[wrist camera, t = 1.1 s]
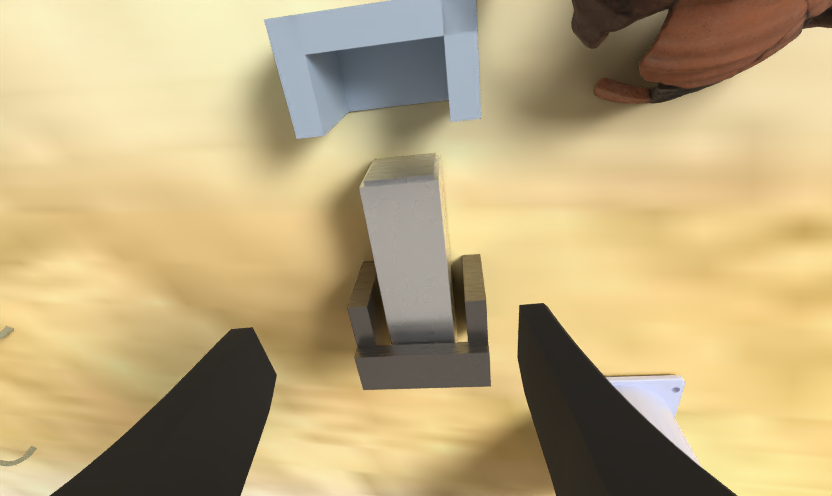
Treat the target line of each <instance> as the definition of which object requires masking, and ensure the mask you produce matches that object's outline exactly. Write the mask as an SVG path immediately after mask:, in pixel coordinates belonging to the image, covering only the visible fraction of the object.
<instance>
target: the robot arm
mask: <svg viewBox="0 0 832 496" xmlns="http://www.w3.org/2000/svg"><path fill="white" fill-rule="evenodd" d="M518 362H519V368H520V373H521V378H522V383H523V387H524V392H525V396H526V399H527V403H528V406H529V409H530V412H531V416H532V419H533V422H534V425H535V428H536V431H537V435H538V438H539V441H540V444H541V447H542V450H543V454H544V457H545V460H546V463H547V466H548V469H549V472H550V476H551V479H552V482H553V486H554V489H555V493H556V496H737V495H736V494H735V493H733V492H732V491H731V490H730V489H728V488H727V487H726V486H724V485H723V484H722V483H721V482H719V481H718V480H717V479H716V478H714V477H713V476H712V475H711V474H709V473H708V472H707V471H706V470H704V469H703V468H702V466H701V465H700V463H699V461H698V459H697V457H696V456H695V454H694V452H693V450H692V448H691V447H690V445H689V443H688V441H687V440H686V438H685V436H684V434H683V432H682V431H681V429H680V427H679V425H678V423H677V422H676V420H675V415H676V412H677V409H678V405H679V402H680V399H681V396H682V392H683V389H684V386H685V381H684V379H683V378H682V377H681V376H679V375H660V376H626V377H605V376H604V375H603V374H602V373H601V372H600V371H599V370H598V368H597V367H596V366H595V365H594V364H593V363H592V362H591V361H590V359H589V358H588V357H587V356H586V355H585V354H584V353H583V351H582V350H581V349H580V348H579V347H578V345H577V344H576V343H575V342H574V341H573V339H572V338H571V337H570V336H569V334H568V333H567V332H566V331H565V329H564V328H563V327H562V326H561V324H560V323H559V322H558V320H557V319H556V318H555V316H554V315H553V314H552V312H551V311H550V309H549V308H548V307H547V306H546V305H545V304H544V303H539V304H527V305H519V330H518ZM276 376H277V375H276V373H275V371H274V369H273V367H272V365H271V363H270V361H269V359H268V357H267V355H266V353H265V351H264V349H263V347H262V345H261V343H260V341H259V339H258V337H257V335H256V333H255V331H254V329H253V327H251V328H239V329H231V330H230V331H229V332H228V333H227V334H226V335H225V336H224V337H223V338H222V339H221V340H220V341H219V342H218V343H217V344H216V345H215V346H214V347H213V348H212V349H211V350H210V351H209V352H208V353H207V354H206V355H205V356H204V357H203V358H202V359H201V360H200V361H199V362H198V363H197V364H196V365H195V366H194V367H193V368H192V369H191V370H190V371H189V372H188V373H187V374H186V375H185V376H184V377H183V378H182V379H181V380H180V381H179V383H178V384H177V385H176V386H175V387H174V388H173V389H172V390H171V391H170V392H169V393H168V394H167V395H166V396H165V397H164V398H163V399H161V400H160V401H159V402H158V403H157V404H156V405H155V406H154V407H153V408H152V409H151V410H150V411H149V412H148V413H147V414H146V415H145V416H143V417H142V418H141V419H140V420H139V421H138V422H137V423H136V424H135V425H134V426H133V427H132V428H131V429H130V430H129V431H128V432H126V433H125V434H124V435H123V436H122V437H121V438H120V439H119V440H118V441H116V442H115V443H114V444H113V445H112V446H111V447H110V448H108V449H107V450H106V451H105V452H104V453H103V454H101V455H100V456H99V457H98V458H97V459H95V460H94V461H93V462H92V463H91V464H89V465H88V466H87V467H86V468H85V469H83V470H82V471H81V472H80V473H78V474H77V475H76V476H75V477H74V478H72V479H71V480H70V481H68V482H67V483H66V484H65V485H63V486H62V487H61V488H59V489H58V490H57V491H55V492H54V493H53V494H51V495H50V496H240V495H241V493H242V490H243V487H244V484H245V481H246V478H247V475H248V472H249V470H250V467H251V464H252V461H253V458H254V455H255V452H256V449H257V446H258V444H259V441H260V438H261V435H262V432H263V429H264V426H265V423H266V420H267V417H268V414H269V410H270V406H271V401H272V397H273V392H274V387H275V381H276Z"/></svg>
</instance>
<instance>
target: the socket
mask: <svg viewBox="0 0 832 496" xmlns="http://www.w3.org/2000/svg"><path fill="white" fill-rule="evenodd" d="M264 21H265V25H266V29H267V32H268V36H269V40H270V43H271V47H272V51H273V54H274V58H275V62H276V65H277V69H278V73H279V76H280V80H281V84H282V87H283V91H284V95H285V98H286V102H287V106H288V109H289V113H290V116H291V120H292V124H293V127H294V131H295V135H296V138H297V139H300V138H309V137H318V136H325V135H326V134H327V133H328V132H329V131H330V130H331V129H332V128H333V127H334V126H335V125H336V124H337V123H338V122H339V121H340V120H341V119H342V118H343V117H344V116H345V115H346V114H347V113H348V112H351V111H360V110H368V109H377V108H386V107H394V106H403V105H411V104H420V103H428V102H437V101H445V100H449V108H450V120H451V122H455V121H464V120H473V119H481V105H480V81H479V57H478V33H477V9H476V0H391V1H384V2H377V3H371V4H364V5H357V6H351V7H344V8H337V9H331V10H324V11H317V12H311V13H304V14H297V15H291V16H284V17H278V18H271V19H264Z"/></svg>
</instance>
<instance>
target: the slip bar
mask: <svg viewBox="0 0 832 496" xmlns="http://www.w3.org/2000/svg"><path fill="white" fill-rule="evenodd" d="M359 190H360V195H361V200H362V205H363V209H364V214H365V219H366V224H367V229H368V233H369V238H370V243H371V248H372V253H373V257H374V262H375V267H376V272H377V277H378V282H379V286H380V291H381V296H382V301H383V306H384V310H385V315H386V320H387V325H388V330H389V334H390V339H391V344H392V345H406V344H430V343H454V342H458V337H457V327H456V316H455V306H454V295H453V285H452V275H451V264H450V254H449V243H448V233H447V222H446V212H445V202H444V191H443V181H442V170H441V160H440V155H439V156H436V153H431V154H421V155H411V156H401V157H391V158H381V159H375V160H374V162H372V163H371V165H370V167H369V169H368V171H367V173H366V175H365V177H364V179H363V181H362V183H361V185H360V187H359Z"/></svg>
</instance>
